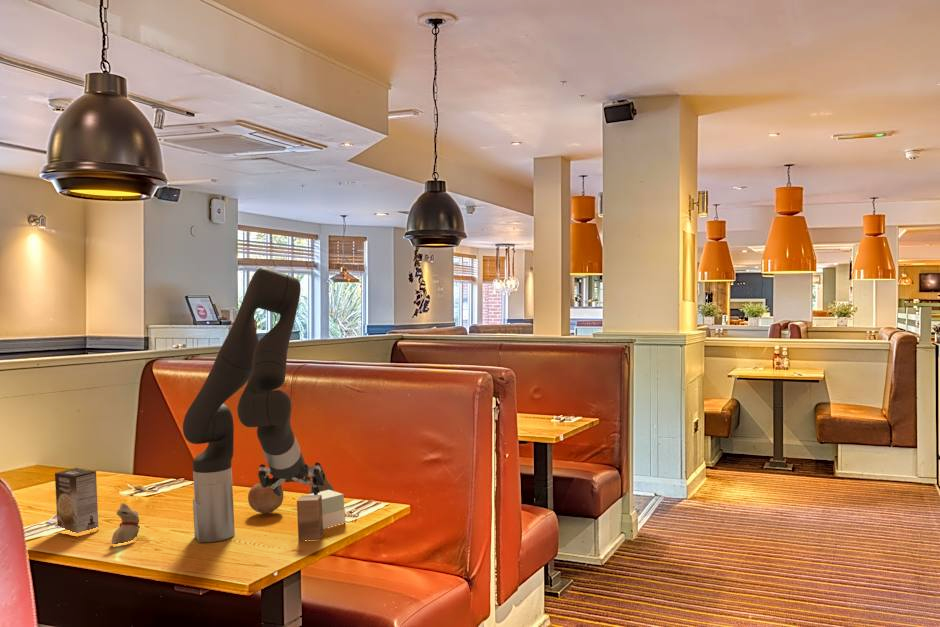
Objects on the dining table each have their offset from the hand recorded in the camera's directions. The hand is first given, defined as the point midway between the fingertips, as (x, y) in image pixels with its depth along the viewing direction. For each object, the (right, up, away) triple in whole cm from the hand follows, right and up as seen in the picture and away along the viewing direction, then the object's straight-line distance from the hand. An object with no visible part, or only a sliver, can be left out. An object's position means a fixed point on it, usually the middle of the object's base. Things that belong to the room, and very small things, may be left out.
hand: (298, 492), depth 183 cm
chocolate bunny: (-46, -16, +13) cm, 50 cm away
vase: (-1, -13, +38) cm, 40 cm away
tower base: (+3, -14, +22) cm, 26 cm away
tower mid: (+2, -10, +22) cm, 24 cm away
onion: (-16, -14, +33) cm, 39 cm away
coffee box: (-63, -16, +23) cm, 69 cm away
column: (+1, -14, +11) cm, 17 cm away
